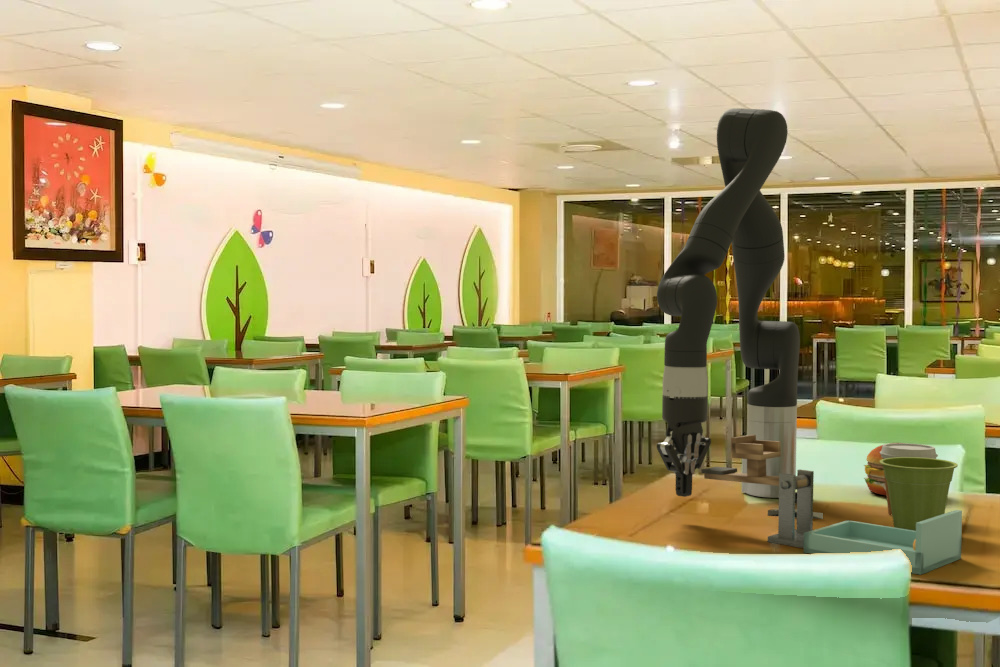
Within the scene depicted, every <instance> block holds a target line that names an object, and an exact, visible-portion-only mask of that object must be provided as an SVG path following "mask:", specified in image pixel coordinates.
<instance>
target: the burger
mask: <svg viewBox="0 0 1000 667" xmlns="http://www.w3.org/2000/svg"><path fill="white" fill-rule="evenodd" d="M888 444H890V442H889V443H888ZM883 445H884V444H882V445H879V446H877V447H875V448H873V449H871V450H870V452H869V453H868V454H867V456H866V460H865V461H866V462H867V464H863V466H864V472H865V474H866V477H863V479H864V481H865V483H866V485H867V488H868V489H869V491H870V492H872V493H874V494H878V495H881V496H882V495H883V496H886V497H887V495H886V487H885V478H884V469H883V465H882V464H880V460H882V457H881V454H880V451H881V450H882V446H883Z"/></svg>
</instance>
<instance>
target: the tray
mask: <svg viewBox="0 0 1000 667" xmlns="http://www.w3.org/2000/svg"><path fill="white" fill-rule="evenodd" d="M962 520H963V510H960V509H955V510H951V511H948V512H945V514H942V515H939V516H936V517H933V518H930V519H927V520H923V521H920V522H917V523H916V531H914V530H907V529H901V528H895V527H894V526H888V525H887V526H886V525H881V524H874V523H868V522H862V521H854V520H851V519H850V520H849V519H847V520H844V521H840V522H837V523H833V524H830V525H826V526H823V527H820V528H815V529H813V530H812V531H809V532H805V533H804V548H803V554H806V553H850V552H871V551H883V550H892V549H901V550H902V551H903V552H904V553H905V554H906V556H907V557H908V558H909V560H910V562H911V565H912V573H911V574H914V575H921V576H922V575H923V574H927V573H929V572H931V571H933V570H936V569H939V568H942V567H944V566H946V565H949V564H951V563H953V562H957V561H958V560H960V559H961V560H962V532H963V530H962V527H963V523H962V522H963V521H962ZM915 539H916V547H915V550H913V542H914V540H915Z"/></svg>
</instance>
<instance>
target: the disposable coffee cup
mask: <svg viewBox="0 0 1000 667" xmlns="http://www.w3.org/2000/svg"><path fill="white" fill-rule="evenodd" d="M889 443H890V442H889ZM889 443H884V444H882V445H883V446H882V450H881V451H880V454H881V457H882V459H885V458H894V457H920V458H932V459H937V458H938V457H939V454H937V451H936V447H935V446H933V445H928V444H921V443H920V444H919V443H906V442H891V443H890V444H889ZM884 478H885V474H884ZM885 487H886V495H887V496H886V495H885V496H886V501H887V502H886V504H887V513H889V515H890V514H892V511H891V504H890V498H889V492H888V485H887V479H886V478H885Z"/></svg>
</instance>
